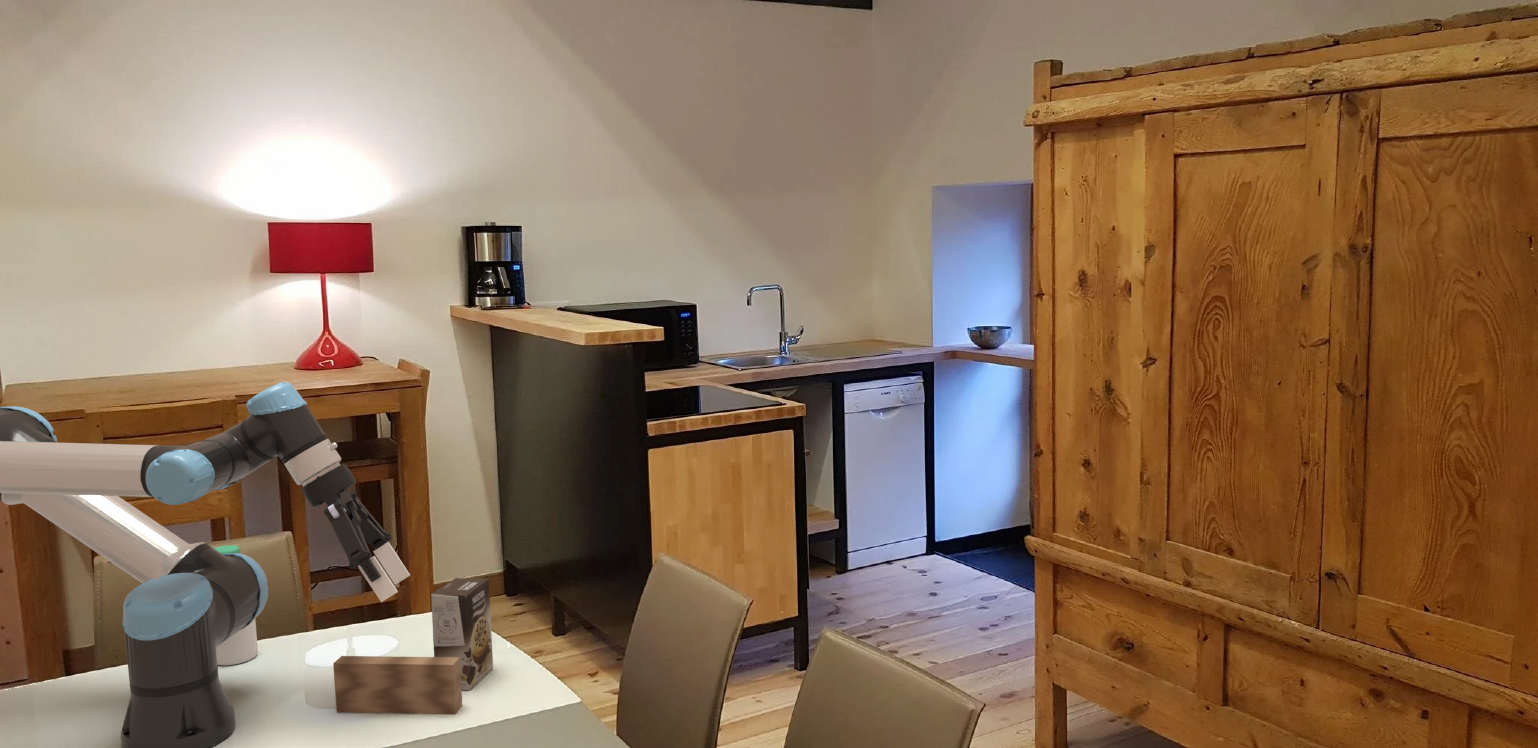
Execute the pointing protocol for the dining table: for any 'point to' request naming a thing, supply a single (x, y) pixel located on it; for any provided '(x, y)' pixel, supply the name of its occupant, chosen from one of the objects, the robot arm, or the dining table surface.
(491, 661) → the coffee box
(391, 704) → the wooden block
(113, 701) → the dining table surface
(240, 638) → the milk bottle
